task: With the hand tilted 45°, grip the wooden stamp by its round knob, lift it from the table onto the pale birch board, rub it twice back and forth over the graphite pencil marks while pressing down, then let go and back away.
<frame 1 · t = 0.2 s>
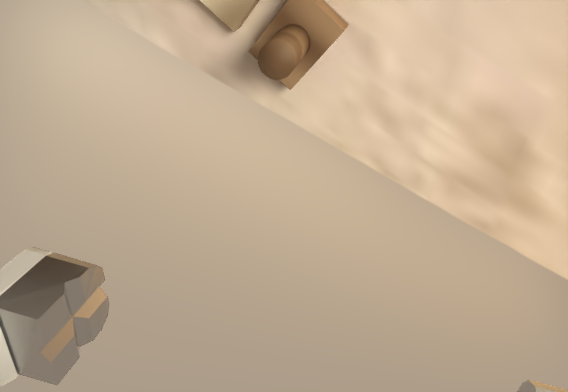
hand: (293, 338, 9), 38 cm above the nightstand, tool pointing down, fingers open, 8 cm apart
wooden stamp: (301, 33, 45), on the nightstand
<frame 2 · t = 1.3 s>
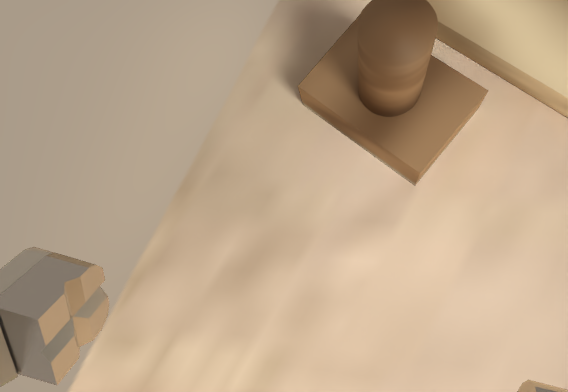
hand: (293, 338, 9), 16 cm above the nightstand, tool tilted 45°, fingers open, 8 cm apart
wooden stamp: (387, 108, 26), on the nightstand
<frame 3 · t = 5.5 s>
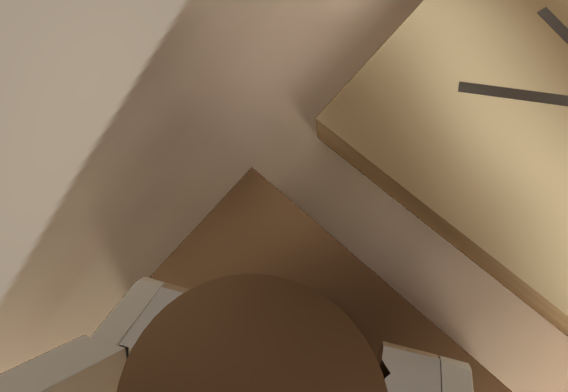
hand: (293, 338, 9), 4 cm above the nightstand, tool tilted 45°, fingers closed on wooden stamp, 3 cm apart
wooden stamp: (304, 352, 13), on the nightstand, touching gripper
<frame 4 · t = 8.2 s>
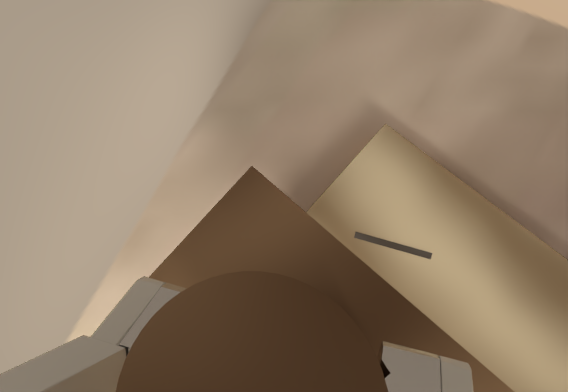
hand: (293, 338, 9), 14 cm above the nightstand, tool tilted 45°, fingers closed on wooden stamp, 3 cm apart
wooden stamp: (304, 351, 13), point 10 cm above the nightstand, touching gripper
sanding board: (421, 325, 22), on the nightstand
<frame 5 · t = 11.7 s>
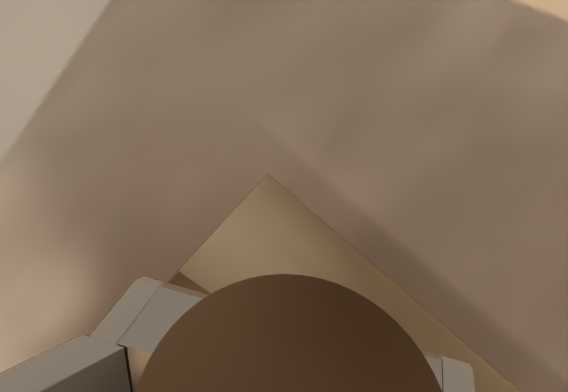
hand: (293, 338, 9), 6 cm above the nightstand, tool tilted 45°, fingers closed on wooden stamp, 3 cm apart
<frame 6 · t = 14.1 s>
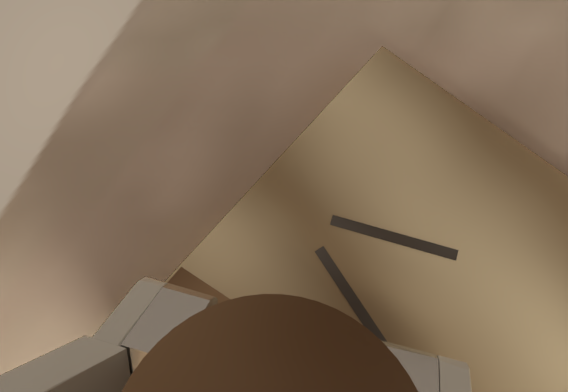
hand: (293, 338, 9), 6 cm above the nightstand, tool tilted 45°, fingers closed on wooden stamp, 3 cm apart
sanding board: (439, 366, 13), on the nightstand
when the fingers open (6 cm above the nightstand, at t = 16.4 s): wooden stamp drops 1 cm, resting on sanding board.
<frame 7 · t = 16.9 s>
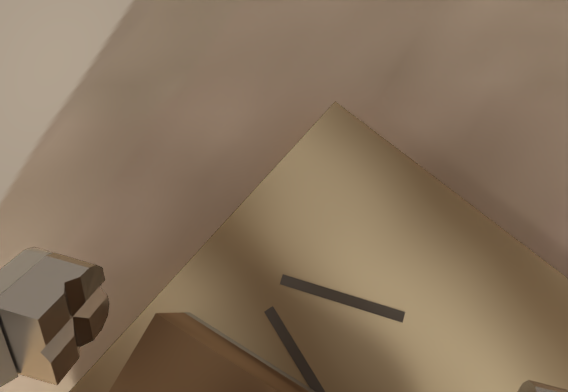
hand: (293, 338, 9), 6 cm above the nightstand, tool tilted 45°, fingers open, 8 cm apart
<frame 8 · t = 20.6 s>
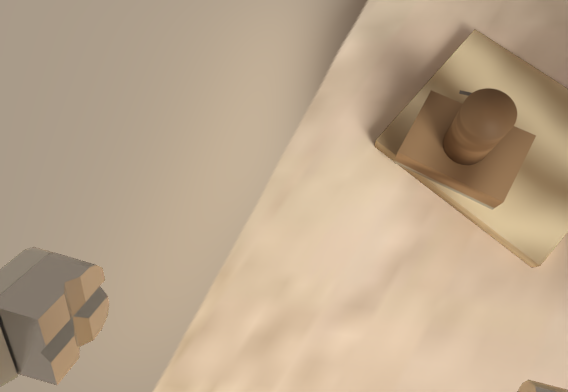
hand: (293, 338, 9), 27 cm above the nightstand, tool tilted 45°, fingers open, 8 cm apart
wooden stamp: (457, 155, 35), point 2 cm above the nightstand, touching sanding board
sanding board: (498, 145, 37), on the nightstand
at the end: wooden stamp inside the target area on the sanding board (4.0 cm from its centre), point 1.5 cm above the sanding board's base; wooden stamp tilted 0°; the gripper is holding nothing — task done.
